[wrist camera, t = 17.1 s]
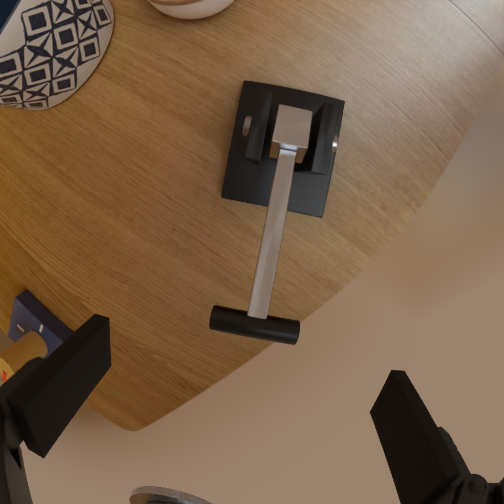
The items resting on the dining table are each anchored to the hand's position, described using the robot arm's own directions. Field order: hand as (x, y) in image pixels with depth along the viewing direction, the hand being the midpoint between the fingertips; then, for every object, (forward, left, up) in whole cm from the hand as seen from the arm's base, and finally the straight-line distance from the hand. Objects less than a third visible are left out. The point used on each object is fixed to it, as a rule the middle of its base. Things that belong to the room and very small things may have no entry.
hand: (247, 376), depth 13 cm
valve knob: (-19, +29, -17) cm, 39 cm away
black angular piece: (+11, 0, -20) cm, 23 cm away
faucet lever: (+5, 0, -8) cm, 10 cm away
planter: (+22, +31, -20) cm, 43 cm away
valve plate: (-19, +29, -20) cm, 40 cm away
